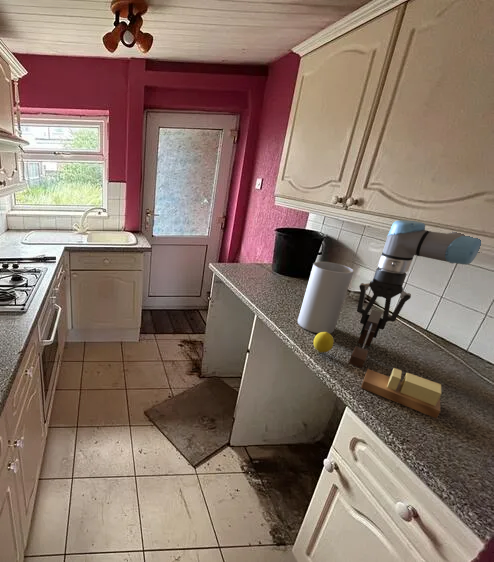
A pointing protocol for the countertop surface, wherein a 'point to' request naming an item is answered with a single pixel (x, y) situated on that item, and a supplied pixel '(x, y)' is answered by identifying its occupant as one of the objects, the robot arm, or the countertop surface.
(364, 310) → the robot arm
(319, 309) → the cylinder vase
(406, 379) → the butter
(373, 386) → the board
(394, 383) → the butter slice
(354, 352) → the knife stand
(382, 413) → the countertop surface
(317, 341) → the lemon
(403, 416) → the countertop surface
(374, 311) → the knife
